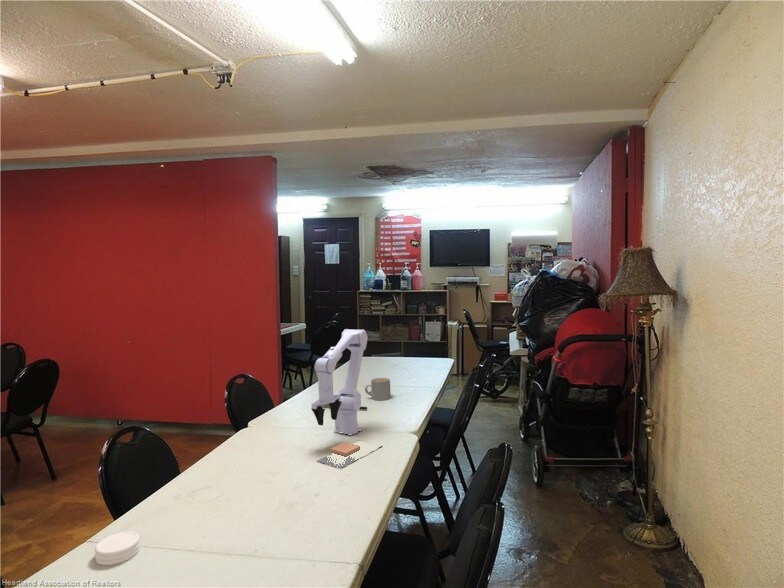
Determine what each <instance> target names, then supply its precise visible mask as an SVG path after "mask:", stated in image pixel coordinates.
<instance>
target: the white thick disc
mask: <svg viewBox="0 0 784 588" xmlns="http://www.w3.org/2000/svg"><path fill="white" fill-rule="evenodd" d="M140 540H141V536H140V535H139V533H137V532H135V531H129V530H128V531H120V532H115V533H114V534H110V535H108V536H106V537H104V538H103V539H102V540H100V541H99V542H98V543H97V544H96V545H95V547H94V552H95V553H94V557H95V562H96V564H98V565H100V566H115V565H118V564H121V563H124V562H126V561H129V560H130V559H132V558H133V557H135V556H136V555H137V554H138V553H139V552H140V550H141V541H140Z"/></svg>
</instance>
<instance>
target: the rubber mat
mask: <svg viewBox="0 0 784 588" xmlns="http://www.w3.org/2000/svg"><path fill="white" fill-rule="evenodd" d="M327 456H328V455H326V456H324V457H322V458H320V459H318V460H316V462H317V463H319V462H320V464H323V463H325V464H324V465H326V464H328V465H327V466H329V465H331V466H330V467H333V466H334V465H335V464H334V463H333V462H331V461H332V459H331V461H330V458H331V457H330V458H329V457H328V458H329V460H328V458H327ZM354 458H355V457H354ZM354 458H353V459H352V457H351V458H350V456H349V457H348V458H347V459H346V461H345V460H344V461H345V464H343V463H344V462H343V463H342V465H343V466H342V465H341V464H340V463H339V465H340V466H339V465H338V464H336V465H335V467H334V468H336V467H337V466H338V468H337V469H339V468H342V469H344V468H345V466H346V465H348V464H350V463H351V464H353V463H355V462H357V461H356V460H355V459H354ZM336 460H337V459H336ZM351 460H352V461H351ZM354 460H355V462H354ZM327 461H328V462H327ZM329 461H330V462H329ZM333 461H334V460H333ZM352 462H353V463H352ZM335 463H336V461H335ZM351 464H350V465H351ZM348 466H349V465H348ZM343 467H344V468H343ZM346 467H347V466H346Z"/></svg>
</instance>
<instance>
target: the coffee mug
mask: <svg viewBox="0 0 784 588" xmlns="http://www.w3.org/2000/svg"><path fill="white" fill-rule="evenodd" d="M370 381H371V382H369V383H366V384H365V386H364V393H366V395H369V396H371V400H373V401H376V402H379V401H380V402H384V401H388V400H390V399H392V398H391V396H392V395H391V379H390V378H389V377H385V376H384V377H381V376H379V377H375V378H371V380H370ZM369 387H370V388H371V390H370V391H368V388H369Z"/></svg>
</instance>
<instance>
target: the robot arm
mask: <svg viewBox="0 0 784 588" xmlns="http://www.w3.org/2000/svg"><path fill="white" fill-rule="evenodd" d="M368 340H369V338H368V334H367V332H366V330H365V329H349V328H345V329H344V330H343V331H342V332H341V337H340V340H339V341H338V342H337V344H336V345H335V346H330V348H329V349H328V350H327V351H326V352H325V354H323V356H322V357H319V358H317V360H315V363H314V372H315V373H316V377H317V380H318V381H317V383H318V384H317V385H318V399H317V400H316V401H314V402H312V403H311V405H310V406H311V411H312V413H313V414H314V416H315V419H316V422H317V425H318V426H324V417H325V416H324V415H325V410H326V408H322V407H321V406H323V405H326V404H329V406H330V408H329V410H330V418H331V420H334V427H335V428H334V429H335V430H334V431H335V432H334V433H336V432H343V433H345V434H348V435H347V436H349V435H351V436H353V435H355V434H357V433H359V432H358V431H360V432H361V430H362V431H363V429H362V428H359V425H358V412H359V411H360V410H361V409H360V407H362V406H361V405H362V400H361V399H362V394H361V393H360V391H359V390H358V389H357V388H358V383H359V377H360V372H361V366H362V360H363V356H364V351H365V350H366V349H367V344H368ZM346 349H347V350H349V351H350V352H351V353H350V358H349V361H348V368H347V373H346V377H345V384H344V387H343V388H342V389H340V390H339V391H338V394H334V379H333V376H334V375H333V373H334V372H335V370H336V367H337V363H338V362H339V361H340V360H341V358H342V357H343V352H344V351H345V350H346ZM333 395H334V396H333ZM356 432H357V433H356ZM354 433H355V434H354ZM345 434H344V435H345ZM352 434H353V435H352Z"/></svg>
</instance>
